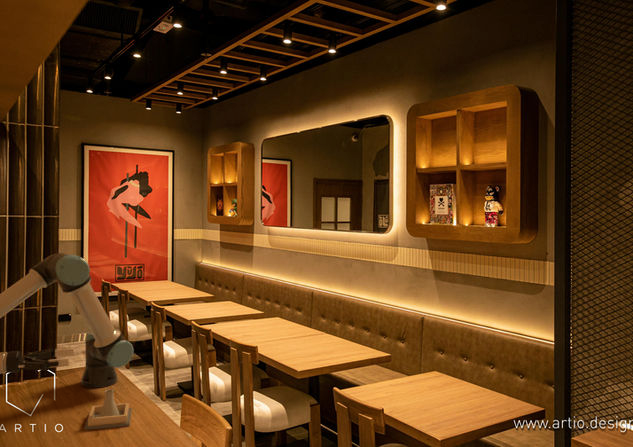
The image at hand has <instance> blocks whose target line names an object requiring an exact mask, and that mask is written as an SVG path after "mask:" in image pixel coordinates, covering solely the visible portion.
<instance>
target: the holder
mask: <svg viewBox="0 0 633 447" xmlns="http://www.w3.org/2000/svg"><path fill="white" fill-rule="evenodd" d="M115 404H116V407H117V409H118V411H119V414H120V415H117V416H106V417H99V415H100V413H101V410H102V407H103V404H101V405H92V406H91V410H90V411H89V414H88V417H87V420H86V421H85V425H84V431H91V430H101V429H102V430H104V429H112V428H121V427H122V428H123V427H124V428H125V427H130V426H131V419H132V418H131V417H132V411H133V410H132V409H133V408H132V407H130V406H129V405H130V404H129V402H125V403H123V402H122V403H115Z"/></svg>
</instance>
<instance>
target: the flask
mask: <svg viewBox="0 0 633 447" xmlns="http://www.w3.org/2000/svg"><path fill="white" fill-rule="evenodd" d="M114 391H115V390H114V389H111V388H110V389H106V390H104V394H105V395H104V396H105V397H104V402H103V404H102V405H103V407H102V410H101V413H100V415H99V417H106V416H117V415H120V414H119V411H118V409H117V407H116V404H117V403H116V401H115V399H114Z"/></svg>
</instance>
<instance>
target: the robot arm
mask: <svg viewBox="0 0 633 447" xmlns="http://www.w3.org/2000/svg"><path fill="white" fill-rule="evenodd" d="M91 281H92V277H91V275H90V266H89V263H88V262H87V261H86V259H84V258H83V257H81V256H78V255H77V254H66V253H54V254H51V255H49V256H47V257H46V258H45V259H43V260H42V261H39V262H38V263H37V264H36V265H34V266H33V267H32V268H30V269H29V271H28V273H27V274H26V275H24V276H23V277H22V278H21V279H18V281H16V282H15V283H14V284H12V285H11V286H9V287H8V288H7V289H5V290H3V291H2V292H1V293H0V319H1V318H2V317H4V316H6V315H7V314H8V313H9V312H11V311H12V310H13V309H15V308H16V307H17V306H19V305H20V304H22V303H23V302H24V301H25V300H27V299H28V298H29V297H31V296H32V295H34V294H35V293H36V292H38V291H39V290H40V289H42V288H47V287H49V286H51V285H52V284H54V283H57V284H58V285H59V287H60V289H61V291H62V292H63V294H67V295H69V297H70V298H71V300H72V302H73V303H74V305H75V307H76V308H77V310H78V312H79V313H80V316H81V318H82V319H83V320H84V323H85V324H86V327H87V328H88V330H89V331H90V332H89V333H87V334H86V336H85V342H84V343H85V366H84V370H83V373H82V377H81V379H80V380H81V382H80V385H81V387H84V388H89V389H93V388H94V389H95V388H96V389H97V388H106V387H109V386H113V385H114V384H116V383H117V382H118V374H117V371H116V368H118V369H119V368H121V367H124V366H126V365H128V364H129V362H130V361H131V360H132V358H133V355H134V347H133V344H132V343H131V342H130V341H128V340H126V338H125V337H124V335H123V334H122V332H121V330H120V329H117V328H115V327H114V325H113V323H112V321H111V320H110V318H109V316H108V314H107V312H106V311H105V309H104V307H103V305H102V304H101V302H100V300H99V298H98V296H97V294H96V293H95V291H94V289H93V287H92V285H91ZM73 356H75V348H73V347H72V348H60V349H56V346H55V347H52V348H48V349H42V350H37V351H31V352H26V353H25V355H22V354H21V351H19V350H14V351H9V352H7V351H2V352H0V375H1V374H6V373H8V374H10V373H13V374H14V373H19V372H20V371H23V370H26V371H27V370H29V371H49V369H50V368H52V369H53V368H62V367H69V366H70V358H69V357H73ZM54 357H55V358H57V359H54ZM60 357H64V358H60ZM65 357H68V358H65ZM49 358H53V359H49ZM46 359H48V360H46Z"/></svg>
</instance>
